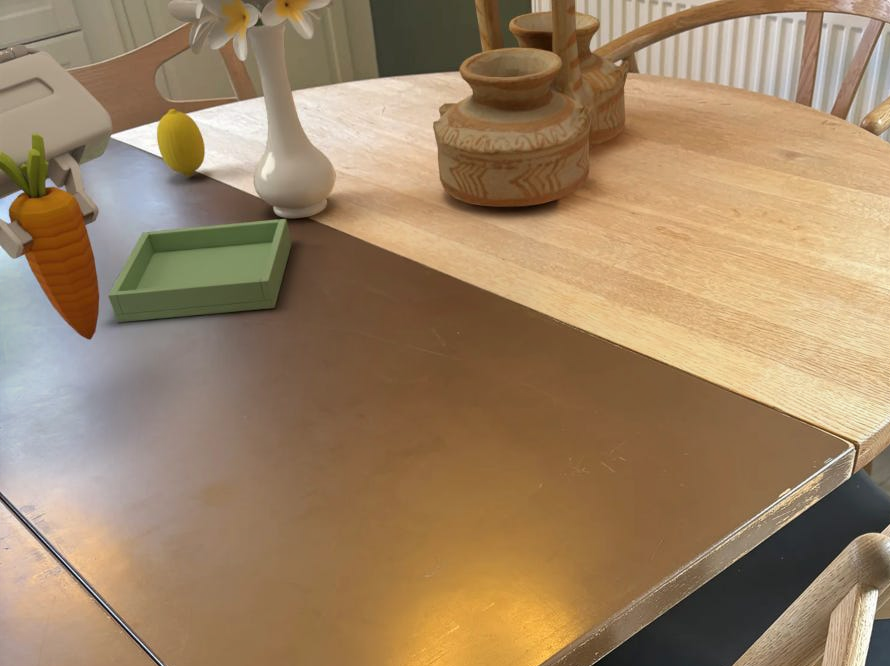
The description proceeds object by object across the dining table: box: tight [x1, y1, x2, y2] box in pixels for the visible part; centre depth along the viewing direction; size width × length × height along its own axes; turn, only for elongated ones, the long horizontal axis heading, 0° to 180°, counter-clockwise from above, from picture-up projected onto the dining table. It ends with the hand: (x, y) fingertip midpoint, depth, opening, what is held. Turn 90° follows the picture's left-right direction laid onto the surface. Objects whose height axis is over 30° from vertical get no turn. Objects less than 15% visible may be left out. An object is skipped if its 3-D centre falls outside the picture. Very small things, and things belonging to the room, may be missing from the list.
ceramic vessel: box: [432, 0, 630, 208], centre depth 114 cm, size 34×18×25 cm, turn 162°
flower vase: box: [167, 0, 337, 220], centre depth 109 cm, size 13×18×25 cm
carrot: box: [0, 134, 100, 340], centre depth 76 cm, size 5×5×15 cm
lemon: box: [156, 108, 206, 178], centre depth 126 cm, size 6×6×8 cm
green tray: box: [108, 218, 292, 323], centre depth 104 cm, size 16×16×3 cm
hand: (57, 235), depth 75 cm, fingers closed on carrot, 5 cm apart
